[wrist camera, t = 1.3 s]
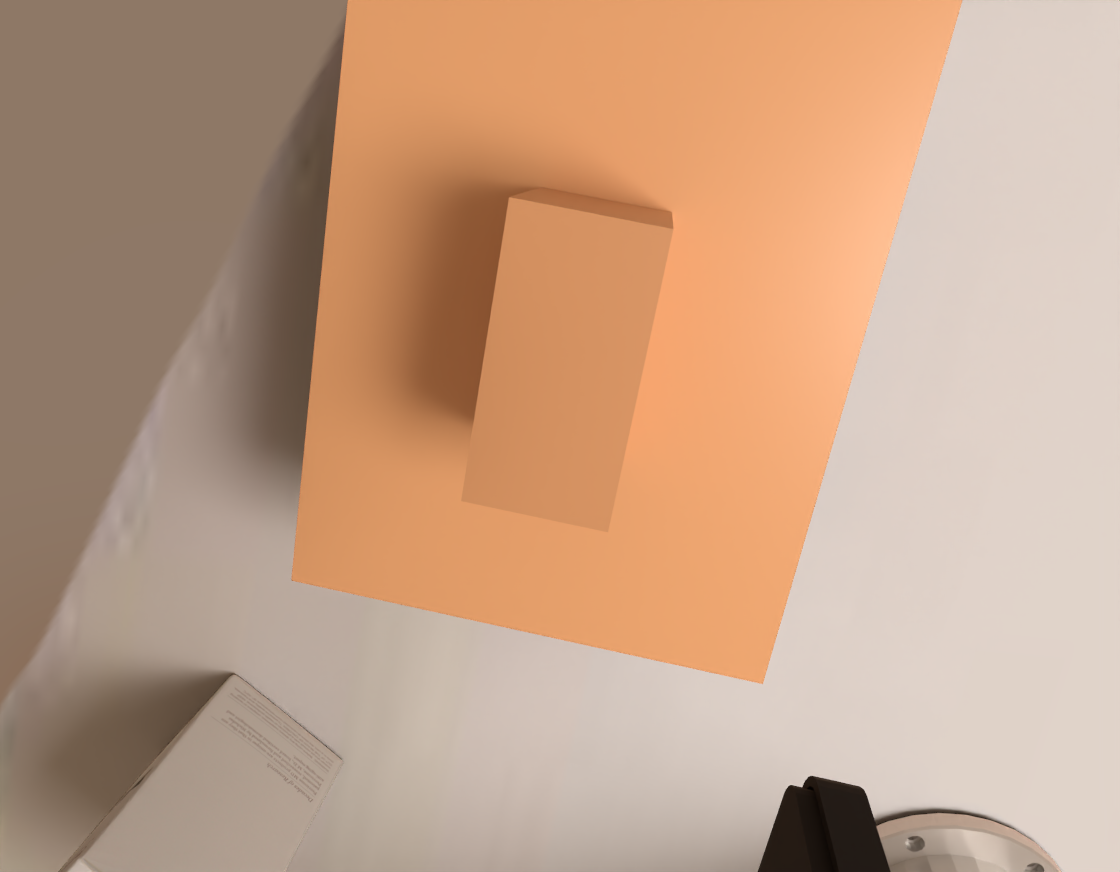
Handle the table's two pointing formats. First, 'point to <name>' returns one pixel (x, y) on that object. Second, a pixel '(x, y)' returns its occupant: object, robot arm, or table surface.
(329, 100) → the table surface
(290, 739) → the supplement box
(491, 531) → the lid
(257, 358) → the table surface
